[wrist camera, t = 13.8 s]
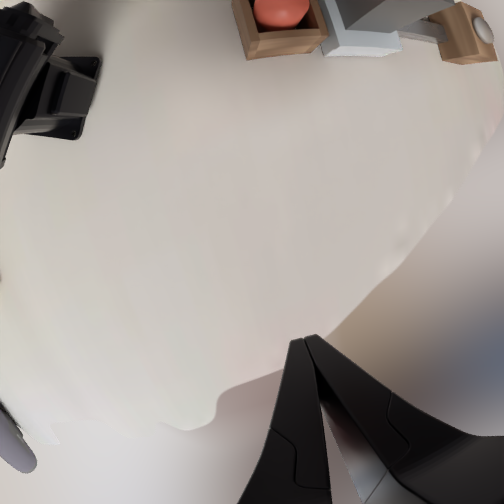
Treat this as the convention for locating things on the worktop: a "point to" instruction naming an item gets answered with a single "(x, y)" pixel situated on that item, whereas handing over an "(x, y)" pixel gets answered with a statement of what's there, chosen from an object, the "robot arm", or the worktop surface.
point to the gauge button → (278, 14)
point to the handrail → (422, 31)
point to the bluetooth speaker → (15, 446)
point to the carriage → (371, 24)
